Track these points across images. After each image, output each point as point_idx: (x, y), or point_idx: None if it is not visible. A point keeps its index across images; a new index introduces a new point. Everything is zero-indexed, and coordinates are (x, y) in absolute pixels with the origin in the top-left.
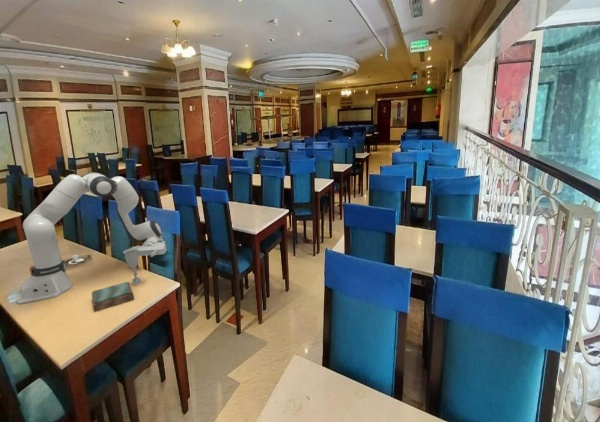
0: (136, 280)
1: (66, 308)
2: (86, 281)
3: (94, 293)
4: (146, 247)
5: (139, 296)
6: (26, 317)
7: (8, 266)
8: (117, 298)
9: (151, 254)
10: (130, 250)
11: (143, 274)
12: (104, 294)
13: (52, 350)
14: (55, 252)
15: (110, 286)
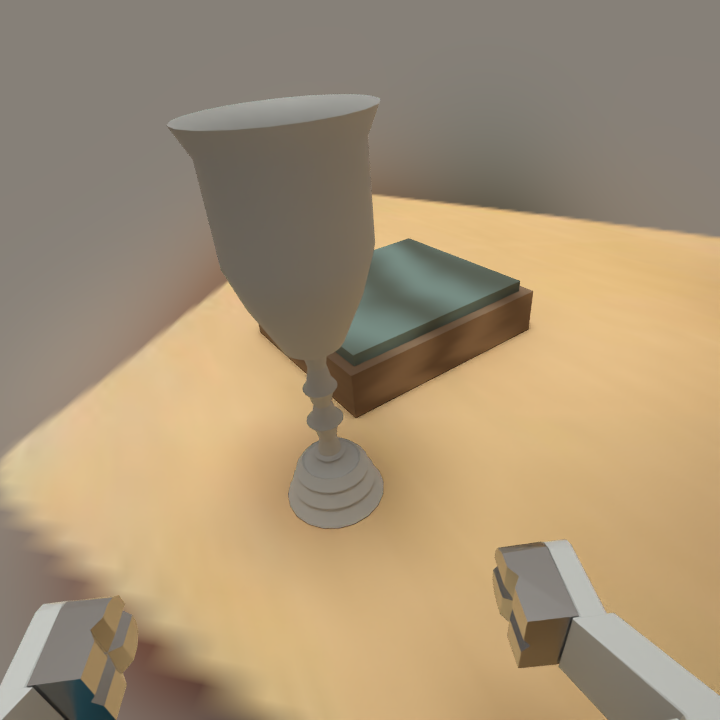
0: (318, 442)
1: (583, 278)
2: None
3: (483, 270)
4: None
5: (240, 351)
6: (697, 242)
7: None
8: None
9: (64, 603)
10: (323, 147)
11: (349, 682)
12: (410, 268)
13: (399, 200)
14: None
15: (442, 313)
